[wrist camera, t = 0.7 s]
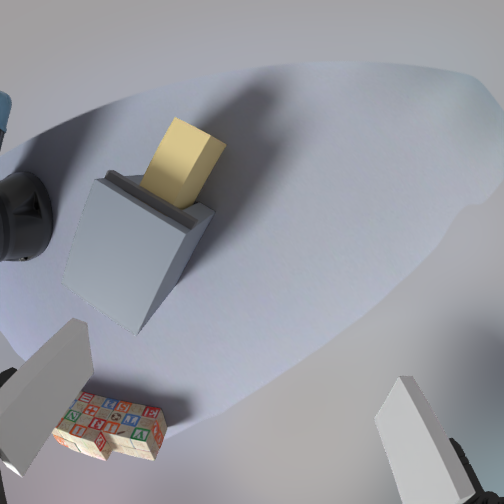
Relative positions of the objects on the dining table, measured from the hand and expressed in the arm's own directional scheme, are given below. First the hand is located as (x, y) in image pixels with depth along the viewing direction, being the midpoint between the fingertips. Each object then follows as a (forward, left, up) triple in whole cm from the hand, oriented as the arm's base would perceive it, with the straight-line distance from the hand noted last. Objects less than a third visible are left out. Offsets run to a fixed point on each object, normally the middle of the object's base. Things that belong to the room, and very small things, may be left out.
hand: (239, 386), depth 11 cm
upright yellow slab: (-12, +1, -28) cm, 30 cm away
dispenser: (-12, -6, -28) cm, 31 cm away
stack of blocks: (-6, -45, -28) cm, 54 cm away
